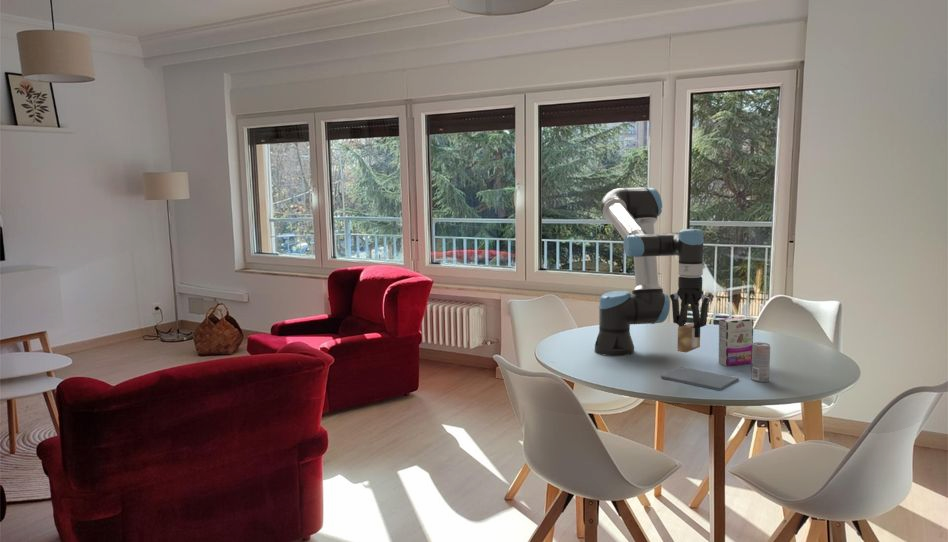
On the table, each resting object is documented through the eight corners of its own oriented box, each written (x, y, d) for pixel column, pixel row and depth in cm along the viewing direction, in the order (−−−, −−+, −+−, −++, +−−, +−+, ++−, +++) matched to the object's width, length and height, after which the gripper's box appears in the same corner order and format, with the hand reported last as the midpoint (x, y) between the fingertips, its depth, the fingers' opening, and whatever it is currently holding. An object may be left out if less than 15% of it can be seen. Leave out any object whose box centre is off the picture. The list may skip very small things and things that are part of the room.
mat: (661, 378, 209) (661, 375, 209) (681, 369, 219) (681, 366, 219) (720, 390, 195) (720, 388, 195) (738, 380, 205) (738, 377, 205)
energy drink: (764, 377, 208) (765, 342, 206) (772, 382, 202) (773, 346, 201) (748, 377, 208) (749, 342, 206) (755, 382, 202) (757, 346, 201)
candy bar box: (743, 360, 228) (745, 316, 226) (753, 363, 224) (754, 318, 222) (717, 363, 226) (718, 318, 223) (726, 366, 221) (727, 321, 219)
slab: (677, 351, 206) (677, 327, 205) (691, 345, 213) (692, 322, 212) (686, 352, 204) (686, 328, 203) (699, 347, 211) (700, 323, 210)
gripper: (662, 275, 209) (661, 344, 211) (709, 279, 197) (707, 351, 200) (673, 273, 214) (672, 340, 217) (719, 276, 203) (717, 347, 205)
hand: (689, 345), depth 208 cm, fingers closed on slab, 3 cm apart
